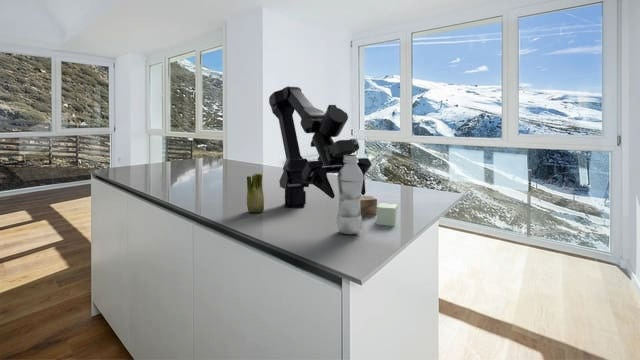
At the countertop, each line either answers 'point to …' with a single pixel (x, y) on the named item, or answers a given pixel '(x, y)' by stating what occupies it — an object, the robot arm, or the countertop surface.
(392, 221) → the sage block
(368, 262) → the countertop surface
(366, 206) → the walnut block
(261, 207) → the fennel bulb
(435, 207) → the countertop surface
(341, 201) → the plastic bottle
